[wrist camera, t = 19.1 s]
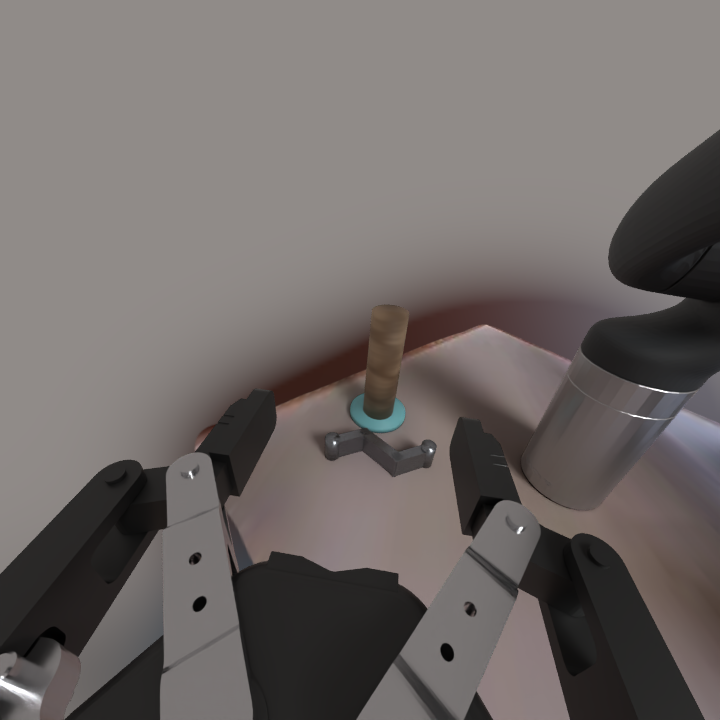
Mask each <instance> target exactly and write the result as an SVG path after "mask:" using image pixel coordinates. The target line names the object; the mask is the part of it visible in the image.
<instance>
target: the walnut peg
mask: <svg viewBox="0 0 720 720" xmlns="http://www.w3.org/2000/svg"><path fill="white" fill-rule="evenodd" d="M408 318H409V312H408V311H407V310H406V309H404V308H402V307H399V306H395V305H379V306H376V307H374V308H373V309H372V317H371V328H370V339H369V350H368V360H367V371H366V382H365V392H364V403H363V411H364V413H365V414H366V415H367V416H368V417H370V418H372V419H376V420H384V419H387V418H389V417H390V416H391V415H392V414H393V409H394V403H395V397H396V391H397V385H398V379H399V373H400V367H401V361H402V354H403V348H404V342H405V336H406V330H407V324H408Z"/></svg>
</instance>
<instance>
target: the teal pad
mask: <svg viewBox="0 0 720 720" xmlns="http://www.w3.org/2000/svg"><path fill="white" fill-rule="evenodd" d="M363 403H364V393H363V394H361V395H359V396H357V397H356V398H355V399H354V400H353V401H352V403H351V408H350V414H351V418H352V419H353V421H354V422H355V423H356V424H357V425H358V426H359V427H361V428H368V430H369V431H371V432H375V433H386V432H391V431H394V430H396V429H397V428H399V427H400V426H401V425H402V423H403V422H404V418H405V408H404V406H403V404H402V403H401V402H400V401H399V400H398V399H397V398H395V403H394V409H393V414H392V415H391V416H390V417H389V418H387V419H384V420H376V419H372V418H370V417H368V416H367V415H366V414H365V413H364V411H363Z"/></svg>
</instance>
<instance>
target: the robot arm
mask: <svg viewBox="0 0 720 720" xmlns="http://www.w3.org/2000/svg"><path fill="white" fill-rule="evenodd" d="M608 260H609V267H610V270H611V272H612V274H613V275H614V276H615V278H616V279H617V280H619V281H620V282H622V283H623V284H625V285H628V286H631V287H634V288H637V289H641V290H645V291H650V292H656V293H662V294H667V295H673V296H679V297H686V298H685V299H684V300H683V301H682V302H680V303H679V304H677V305H675V306H673V307H671V308H668V309H665V310H662V311H658V312H655V313H650V314H644V315H637V316H627V317H616V318H609V319H604V320H601V321H599V322H597V323H596V324H594V325H593V326H592V327H591V328H590V330H589V331H588V333H587V335H586V336H585V338H584V340H583V342H582V344H581V346H580V348H579V349H578V352H577V353H576V355H575V357H574V359H573V361H572V363H571V364H570V366H569V368H568V370H567V372H566V374H565V376H564V378H563V380H562V382H561V383H560V385H559V387H558V389H557V391H556V393H555V395H554V397H553V398H552V400H551V402H550V404H549V406H548V408H547V410H546V412H545V413H544V415H543V417H542V419H541V421H540V423H539V425H538V426H537V428H536V430H535V432H534V434H533V436H532V438H531V440H530V441H529V443H528V445H527V447H526V449H525V451H524V453H523V455H522V457H521V467H522V470H523V472H524V474H525V476H526V477H527V479H528V480H529V482H530V483H531V484H532V485H533V486H534V487H535V488H536V489H537V490H538V491H540V492H541V493H542V494H543V495H545V496H546V497H548V498H549V499H551V500H552V501H554V502H556V503H558V504H560V505H562V506H565V507H568V508H571V509H576V510H591V509H595V508H596V507H598V506H599V505H600V504H601V503H602V502H603V501H604V499H605V498H606V497H607V496H608V495H609V494H610V492H611V491H612V490H613V489H614V488H615V487H616V486H617V484H618V483H619V482H620V481H621V480H622V479H623V477H624V476H625V475H626V474H627V473H628V472H629V470H630V469H631V468H632V467H633V466H634V465H635V463H636V462H637V461H638V460H639V459H640V458H641V456H642V455H643V454H644V453H645V452H646V451H647V449H648V448H649V447H650V446H651V445H652V444H653V442H654V441H655V440H656V439H657V438H658V437H659V435H660V434H661V433H662V432H663V431H664V430H665V428H666V427H667V426H668V425H669V424H670V423H671V421H672V420H673V419H674V418H675V417H676V416H677V414H678V413H679V412H680V411H681V410H682V408H683V407H684V406H685V405H686V404H687V403H688V401H689V400H690V399H691V398H692V397H693V396H694V394H695V393H696V392H697V391H698V389H699V388H700V387H701V386H702V385H703V384H704V383H705V382H706V381H707V380H708V378H710V377H711V376H712V375H714V374H715V373H717V372H719V371H720V130H719V131H717V132H716V133H715V134H713V135H712V136H711V137H709V138H708V139H707V140H705V141H704V142H703V143H702V144H701V145H699V146H697V147H696V148H695V149H694V150H692V151H691V152H690V153H688V154H687V155H686V156H684V157H683V158H682V159H681V160H679V161H678V162H677V163H676V164H674V165H673V166H672V167H670V168H669V169H668V170H667V171H666V172H665V173H664V174H662V175H661V176H660V177H659V178H658V179H657V180H656V181H654V182H653V183H652V184H651V185H650V187H648V189H647V190H646V191H645V192H644V193H643V194H642V195H641V196H640V197H639V198H638V199H637V201H636V202H635V203H634V204H633V206H632V207H631V208H630V209H629V211H628V212H627V213H626V215H625V216H624V218H623V220H622V221H621V223H620V224H619V226H618V228H617V230H616V232H615V234H614V236H613V238H612V241H611V244H610V248H609V256H608ZM276 418H277V417H276V408H275V400H274V393H273V391H270V390H262V389H254V390H253V391H252V392H251V394H250V395H249V397H248V398H247V399H240V400H238V401H237V402H235V403H234V404H233V405H231V406H230V407H229V408H228V410H227V411H226V412H225V414H224V416H222V417H221V419H220V420H219V421H218V424H216V425H215V427H214V428H213V429H212V431H211V432H210V433H209V434H208V436H207V437H206V438H205V440H204V441H203V442H202V444H201V445H200V446H199V448H198V449H197V450H196V451H195V452H194V453H190V454H187V455H184V456H182V457H180V458H179V459H177V460H176V461H174V462H173V464H171V466H168V467H161V468H152V469H144V470H143V468H142V466H141V465H140V463H139V462H137V461H135V460H123V461H119V462H116V463H113V464H111V465H109V466H107V467H105V468H104V469H102V470H101V471H100V472H98V474H96V475H95V476H94V477H93V479H91V480H90V482H89V483H88V484H87V485H86V486H85V487H84V488H83V489H82V490H81V491H80V492H79V493H78V494H77V495H76V496H75V497H74V498H73V499H72V500H71V501H70V502H69V504H67V505H66V506H65V507H64V509H63V510H62V511H61V512H60V513H59V514H58V515H57V516H56V517H55V518H54V519H53V520H52V521H51V522H50V523H49V524H48V525H47V526H46V527H45V528H44V530H42V531H41V532H40V533H39V535H38V536H37V537H36V538H35V539H34V540H33V541H32V542H31V543H30V544H29V545H28V546H27V547H26V548H25V549H24V550H23V551H22V552H21V553H20V554H19V555H18V556H17V557H16V558H15V559H14V560H13V561H12V562H11V564H10V565H9V566H8V567H7V568H6V569H5V570H4V571H3V572H2V573H1V574H0V720H64V714H65V710H66V707H67V705H68V704H69V702H70V701H71V699H72V696H73V694H74V689H75V687H76V685H77V682H78V680H79V676H80V671H81V663H80V660H79V658H78V656H79V655H80V653H81V652H82V650H83V648H84V647H85V645H86V644H87V642H88V641H89V639H90V637H91V636H92V634H93V633H94V631H95V630H96V628H97V626H98V625H99V623H100V622H101V620H102V618H103V617H104V615H105V614H106V612H107V611H108V609H109V608H110V606H111V604H112V603H113V601H114V600H115V598H116V596H117V595H118V593H119V592H120V590H121V589H122V587H123V585H124V584H125V582H126V581H127V579H128V578H129V576H130V575H131V573H132V571H133V570H134V568H135V567H136V565H137V563H138V562H139V560H140V559H141V557H142V555H143V554H144V552H145V551H146V549H147V548H148V546H149V545H150V543H151V541H152V540H153V538H154V537H155V535H156V534H157V532H158V530H160V529H163V533H162V561H163V563H162V564H163V623H164V624H163V625H164V635H163V636H161V637H160V638H159V639H158V640H157V641H155V642H154V643H153V644H152V645H151V646H150V647H148V648H147V649H146V650H145V651H144V652H143V653H141V654H140V655H139V656H138V657H137V658H135V659H134V660H133V661H132V662H131V663H130V664H128V665H127V666H126V667H125V668H124V669H123V670H121V671H120V672H119V673H118V674H117V675H116V676H114V677H113V678H112V679H111V680H110V681H108V682H107V683H106V684H105V685H104V686H103V687H101V688H100V689H99V690H98V691H97V692H96V693H94V694H93V695H92V696H91V697H90V698H88V699H87V700H86V701H85V702H84V703H83V704H81V705H80V706H79V707H78V708H77V709H76V710H74V711H73V712H72V713H71V714H70V715H69V716H68V717H67V718H66V719H65V720H493V719H492V717H491V715H490V714H489V712H488V710H487V709H486V707H485V705H484V703H483V702H482V700H481V698H480V696H479V695H478V693H477V688H478V686H479V684H480V681H481V679H482V677H483V674H484V672H485V670H486V667H487V665H488V663H489V661H490V658H491V656H492V654H493V651H494V649H495V647H496V644H497V642H498V640H499V638H500V635H501V633H502V631H503V628H504V626H505V624H506V621H507V619H508V617H509V614H510V612H511V610H512V608H513V605H514V603H515V601H516V598H517V595H518V590H517V588H519V589H521V590H523V591H525V592H527V593H529V594H530V595H532V596H534V597H536V598H538V601H539V605H540V608H541V612H542V616H543V620H544V623H545V627H546V631H547V635H548V638H549V642H550V646H551V650H552V653H553V657H554V661H555V665H556V668H557V672H558V676H559V680H560V683H561V687H562V691H563V695H564V698H565V702H566V706H567V710H568V713H569V717H570V720H705V719H704V717H703V715H702V713H701V711H700V709H699V707H698V705H697V703H696V701H695V699H694V697H693V696H692V694H691V692H690V690H689V688H688V686H687V684H686V682H685V680H684V678H683V676H682V674H681V672H680V670H679V668H678V666H677V665H676V663H675V661H674V659H673V657H672V655H671V653H670V651H669V649H668V647H667V645H666V643H665V641H664V639H663V637H662V635H661V634H660V632H659V630H658V628H657V626H656V624H655V622H654V620H653V618H652V616H651V614H650V612H649V610H648V608H647V606H646V604H645V603H644V601H643V599H642V597H641V595H640V593H639V591H638V589H637V587H636V585H635V583H634V581H633V579H632V577H631V575H630V573H629V572H628V570H627V568H626V566H625V564H624V562H623V560H622V559H621V557H620V556H619V555H618V554H617V553H616V551H615V550H614V549H613V548H612V547H610V546H609V545H608V544H607V543H605V542H604V541H602V540H601V539H599V538H597V537H595V536H593V535H589V534H584V533H580V534H576V535H575V536H574V537H573V538H572V539H569V538H567V537H565V536H563V535H560V534H558V533H556V532H554V531H552V530H549V529H547V528H545V527H543V526H542V525H540V524H539V523H538V521H537V519H536V518H535V516H534V515H533V514H532V513H531V512H530V511H529V510H528V509H527V508H526V507H524V506H523V505H522V504H521V501H520V498H519V496H518V493H517V490H516V487H515V484H514V482H513V479H512V476H511V473H510V470H509V468H508V467H507V462H506V459H505V458H504V454H503V451H502V448H501V445H500V444H499V442H498V441H497V440H496V439H495V438H494V436H493V435H492V434H488V433H484V432H483V429H482V425H481V422H480V420H478V419H471V418H464V417H460V418H459V419H458V422H457V425H456V428H455V431H454V434H453V437H452V440H451V444H450V461H451V467H452V474H453V480H454V486H455V492H456V498H457V505H458V511H459V517H460V523H461V529H462V534H463V535H469V536H472V537H473V541H472V543H471V544H470V546H469V547H468V548H467V549H466V551H465V552H464V554H463V555H462V557H461V558H460V560H459V561H458V563H457V564H456V566H455V568H454V569H453V571H452V572H451V574H450V575H449V577H448V579H447V580H446V582H445V583H444V585H443V586H442V588H441V589H440V591H439V593H438V594H437V596H436V597H435V599H434V600H433V602H432V604H431V605H430V607H429V608H428V609H427V608H426V606H425V605H424V604H423V603H422V602H421V601H420V599H419V598H418V597H416V596H415V595H414V594H413V593H412V592H411V591H409V590H408V589H406V588H405V587H403V586H401V585H399V584H398V573H392V572H387V571H381V570H375V569H370V568H362V569H353V570H345V571H337V572H333V571H329V570H327V569H325V568H323V567H321V566H320V565H318V564H316V563H314V562H312V561H310V560H308V559H306V558H304V557H302V556H297V555H291V554H285V553H280V552H274V551H272V552H271V555H270V557H269V560H268V561H264V562H260V563H257V564H254V565H251V566H249V567H247V568H245V569H243V570H241V571H239V568H238V564H237V560H236V556H235V552H234V547H233V542H232V537H231V532H230V528H229V522H228V517H227V512H226V507H225V502H226V501H227V499H228V497H229V495H233V496H239V497H240V495H241V493H242V491H243V489H244V487H245V485H246V483H247V481H248V479H249V477H250V476H251V474H252V472H253V470H254V468H255V466H256V464H257V462H258V460H259V458H260V456H261V454H262V452H263V450H264V449H265V447H266V445H267V443H268V441H269V439H270V437H271V435H272V433H273V431H274V429H275V425H276Z"/></svg>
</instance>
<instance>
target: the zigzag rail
mask: <svg viewBox="0 0 720 720" xmlns="http://www.w3.org/2000/svg"><path fill="white" fill-rule="evenodd" d="M436 447H437V446H436V444H435V443H434V442H433V441H431V440H424V441H423V442H422V445H420V446H417V447H413V448H410V449H407V450H403V451H400V452H397V451H396V450H395V449H393V448H392V447H391V446H389V445H388V444H387V443H385V442H384V441H383V440H381V439H380V438H379V437H377V436H376V435H375V434H373V433H372V432H371V431H369V430H368V428H363V429H359V430H355V431H351V432H347V433H343V434H339V435H338V434H337V433H335V432H331V433H328V434H327V435H326V437H325V457H326V458H327V459H328V460H330V461H334V460H336V459H338V457H341V456H345V455H348V454H352V453H356V452H359V451H363V452H365V453H366V454H367V455H368V456H370V457H371V458H372V459H373V460H374V461H376V462H377V463H378V464H379V465H380V466H382V467H383V468H384V469H385V470H387V471H388V472H389V473H390V474H391V475H392V477H395V476H397V475H400V474H403V473H406V472H410V471H413V470H416V469H419V468H422V467H423V468H429V467H430V466H431V464H432V461H433V458H434V454H435V451H436Z"/></svg>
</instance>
